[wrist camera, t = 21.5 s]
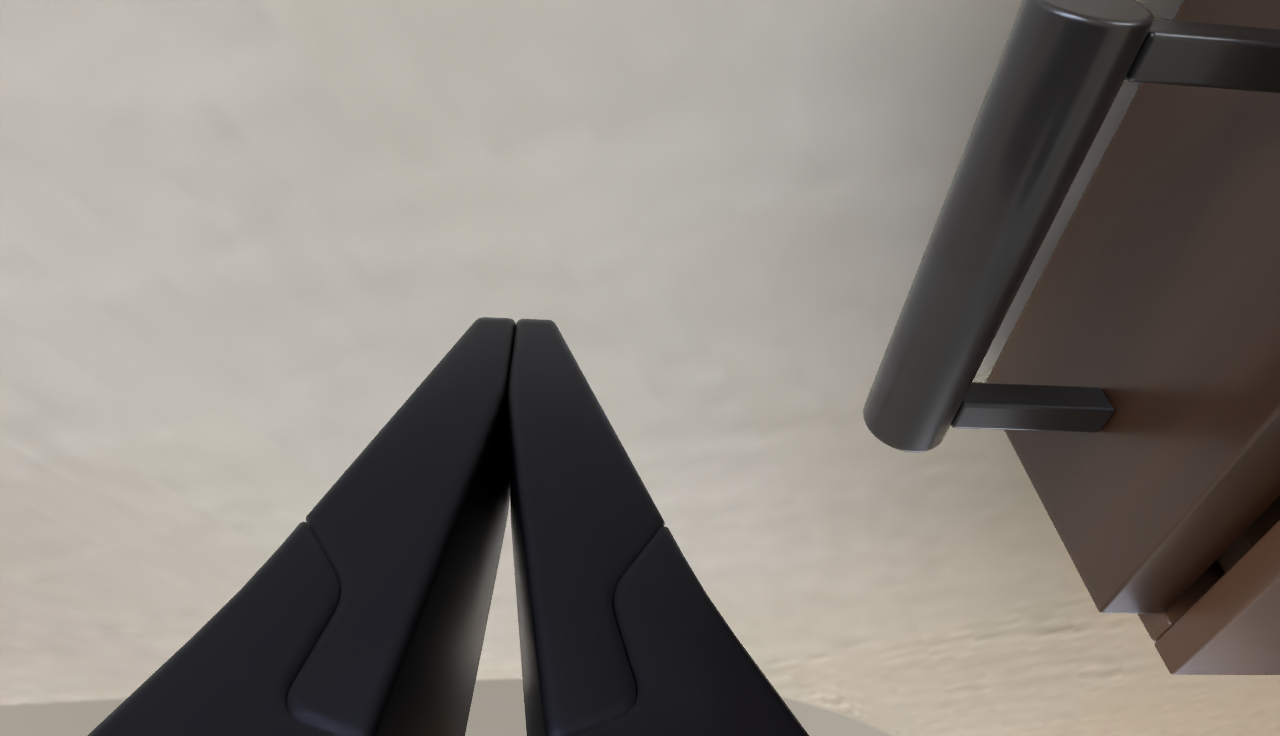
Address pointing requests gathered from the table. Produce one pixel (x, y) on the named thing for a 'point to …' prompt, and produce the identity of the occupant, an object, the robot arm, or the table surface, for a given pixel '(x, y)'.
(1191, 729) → the table surface
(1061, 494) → the drawer
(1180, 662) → the cabinet
